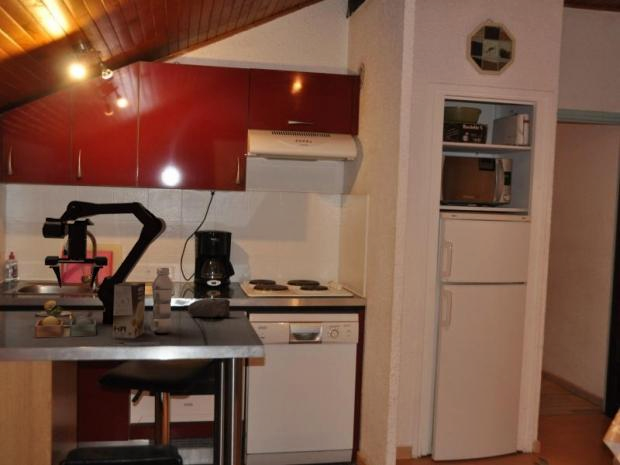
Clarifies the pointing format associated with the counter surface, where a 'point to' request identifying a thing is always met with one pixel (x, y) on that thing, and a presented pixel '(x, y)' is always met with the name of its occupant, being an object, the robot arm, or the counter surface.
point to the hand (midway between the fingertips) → (76, 287)
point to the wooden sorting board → (65, 329)
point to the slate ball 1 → (81, 318)
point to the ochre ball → (50, 321)
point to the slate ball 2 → (83, 322)
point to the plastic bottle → (162, 302)
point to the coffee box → (128, 309)
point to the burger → (52, 310)
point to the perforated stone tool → (209, 308)
